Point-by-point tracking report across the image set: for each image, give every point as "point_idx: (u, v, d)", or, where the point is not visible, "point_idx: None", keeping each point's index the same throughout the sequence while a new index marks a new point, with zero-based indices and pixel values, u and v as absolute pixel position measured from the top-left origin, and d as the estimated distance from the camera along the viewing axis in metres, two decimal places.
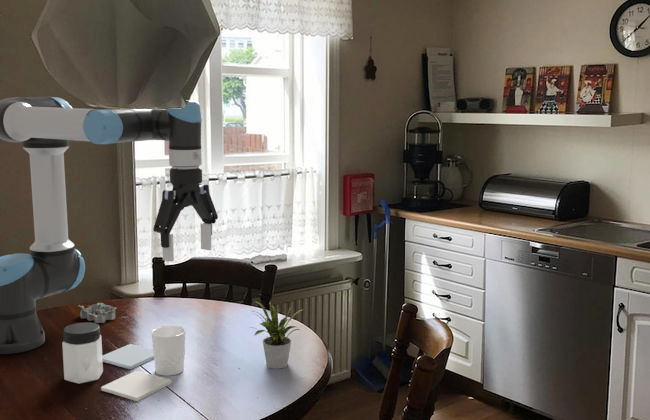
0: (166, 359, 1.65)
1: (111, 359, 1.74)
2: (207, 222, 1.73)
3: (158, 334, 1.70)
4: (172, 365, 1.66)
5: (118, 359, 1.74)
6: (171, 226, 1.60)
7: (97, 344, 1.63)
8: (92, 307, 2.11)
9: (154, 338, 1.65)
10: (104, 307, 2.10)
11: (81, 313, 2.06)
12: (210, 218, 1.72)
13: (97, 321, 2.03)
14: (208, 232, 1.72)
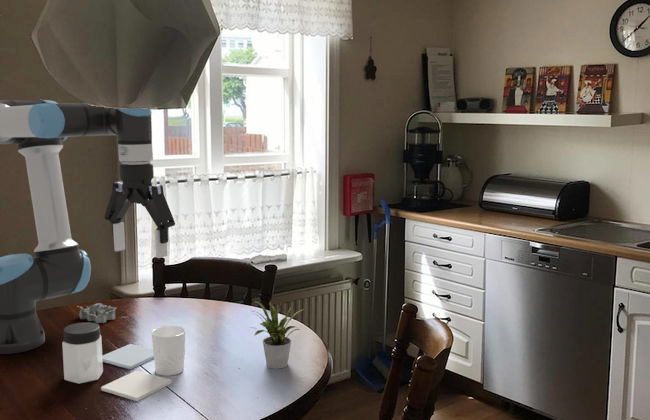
0: (166, 359, 1.65)
1: (111, 359, 1.74)
2: None
3: (158, 334, 1.70)
4: (172, 365, 1.66)
5: (118, 359, 1.74)
6: (114, 217, 1.64)
7: (97, 344, 1.63)
8: (90, 308, 2.11)
9: (154, 338, 1.65)
10: (103, 307, 2.10)
11: (80, 314, 2.06)
12: (157, 223, 1.57)
13: (98, 321, 2.02)
14: None
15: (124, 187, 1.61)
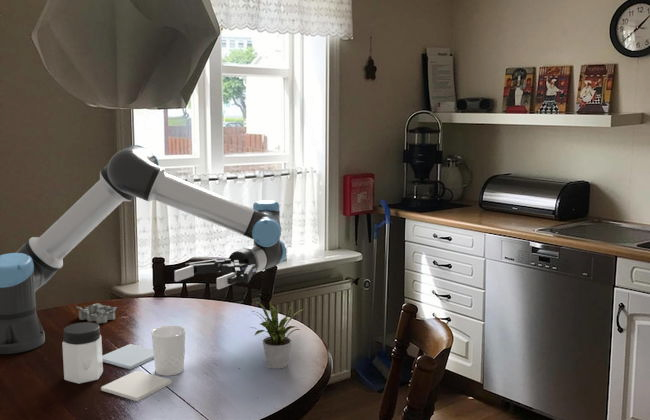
0: (166, 359, 1.65)
1: (111, 359, 1.74)
2: None
3: (158, 334, 1.70)
4: (172, 365, 1.66)
5: (118, 359, 1.74)
6: None
7: (97, 344, 1.63)
8: (88, 308, 2.10)
9: (154, 338, 1.65)
10: (102, 307, 2.09)
11: (80, 314, 2.05)
12: None
13: (99, 321, 2.02)
14: (188, 276, 1.82)
15: None
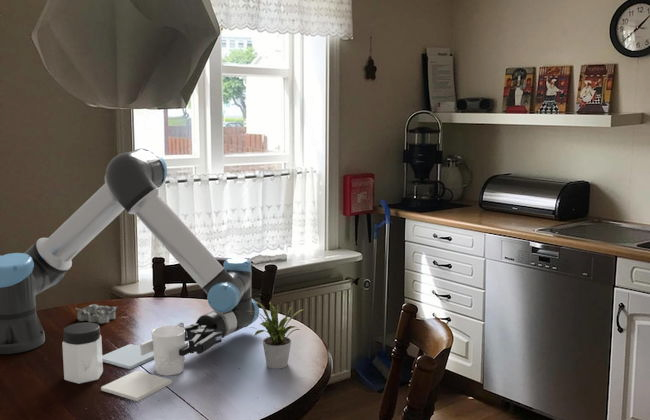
0: (166, 359, 1.65)
1: (111, 359, 1.74)
2: None
3: (158, 334, 1.70)
4: (172, 365, 1.66)
5: (118, 359, 1.74)
6: None
7: (97, 344, 1.63)
8: (85, 309, 2.09)
9: (154, 338, 1.65)
10: (100, 308, 2.09)
11: (80, 316, 2.04)
12: None
13: (102, 321, 2.02)
14: None
15: None
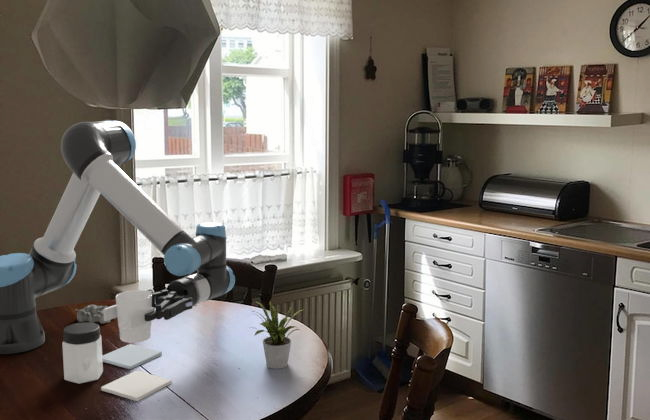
0: None
1: (111, 359, 1.74)
2: None
3: (123, 299, 1.58)
4: (137, 331, 1.54)
5: (118, 359, 1.74)
6: None
7: (97, 344, 1.63)
8: (83, 310, 2.08)
9: (118, 302, 1.54)
10: (99, 308, 2.09)
11: (80, 316, 2.03)
12: None
13: (103, 321, 2.02)
14: None
15: None
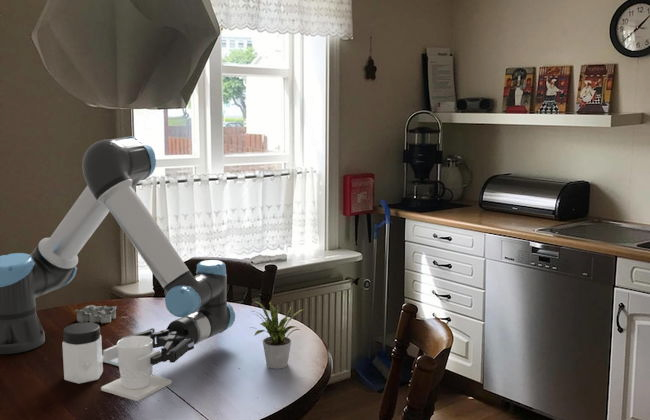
0: (132, 372, 1.56)
1: None
2: None
3: (124, 345, 1.60)
4: (138, 378, 1.56)
5: None
6: None
7: (97, 344, 1.63)
8: (82, 311, 2.08)
9: (119, 349, 1.55)
10: (98, 308, 2.08)
11: (81, 317, 2.03)
12: None
13: (105, 321, 2.02)
14: None
15: None
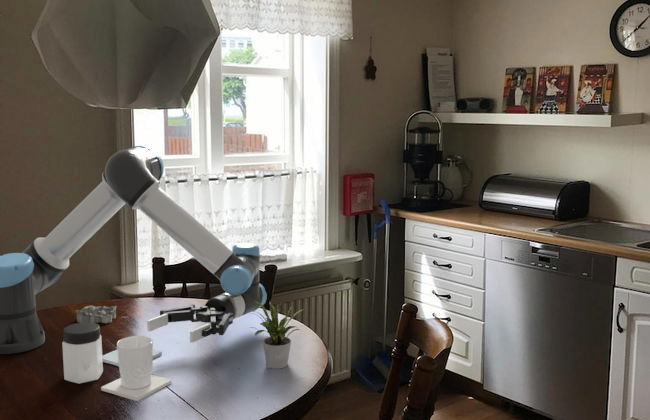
0: (132, 372, 1.56)
1: (111, 359, 1.74)
2: None
3: (124, 345, 1.60)
4: (138, 378, 1.56)
5: None
6: None
7: (97, 344, 1.63)
8: None
9: (119, 349, 1.56)
10: (97, 309, 2.08)
11: (81, 318, 2.02)
12: None
13: (106, 321, 2.02)
14: (162, 325, 1.75)
15: None
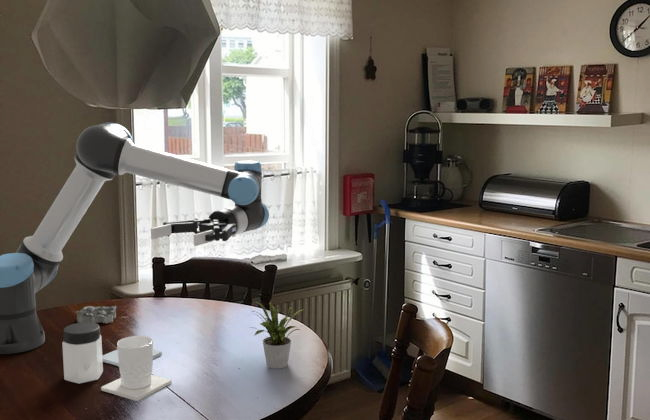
0: (132, 371, 1.56)
1: (111, 359, 1.74)
2: None
3: (124, 345, 1.60)
4: (138, 378, 1.56)
5: None
6: None
7: (97, 344, 1.63)
8: None
9: (119, 349, 1.56)
10: (96, 309, 2.08)
11: (82, 318, 2.02)
12: None
13: (107, 321, 2.03)
14: (165, 235, 1.76)
15: None
